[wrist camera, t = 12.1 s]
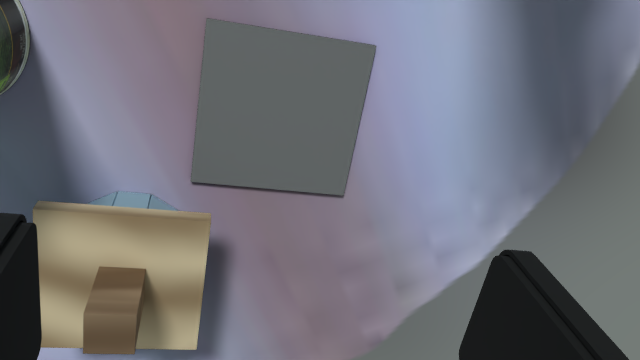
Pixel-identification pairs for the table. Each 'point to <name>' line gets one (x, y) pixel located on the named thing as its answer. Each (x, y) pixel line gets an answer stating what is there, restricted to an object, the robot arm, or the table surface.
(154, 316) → the lid
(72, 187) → the table surface
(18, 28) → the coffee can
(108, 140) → the table surface
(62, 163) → the table surface
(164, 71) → the table surface
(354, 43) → the mat
